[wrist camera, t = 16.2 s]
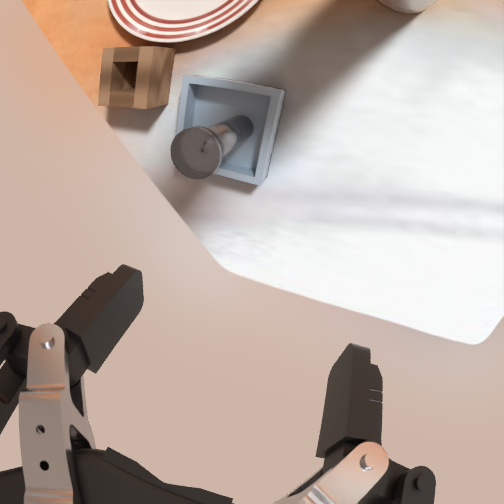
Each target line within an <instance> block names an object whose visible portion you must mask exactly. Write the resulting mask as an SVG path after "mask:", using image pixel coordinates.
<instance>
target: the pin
mask: <svg viewBox="0 0 504 504" xmlns="http://www.w3.org/2000/svg"><path fill="white" fill-rule="evenodd" d="M253 129H254V128H253V123H252V121H251V120H250V119H249V118H248V117H246V116H243V115H238V116H235V117H232V118H230V119H227V120H225V121H222V122H220V123H217V124H215V125H212V126H210V127H207V128H206V127H202V126H193V127H190V128H187V129H185V130H183V131H181V132H179V133H178V134H177V135H176V137H175V138H174V140H173V142H172V145H171V158H172V161H173V163H174V165H175V167H176V168H177V169H178V170H179V171H180V172H181V173H182V174H183V175H185V176H187V177H189V178H193V179H201V178H205V177H207V176H209V175H210V174H212V173H213V172H214V171H215V170H216V169H217V168H218V167H219V166H220V164H221V162H222V159H223V156H224V155H225V154H227V153H228V152H229V151H231V150H232V149H233V148H235V147H236V146H238V145H239V144H241V143H242V142H243V141H245V140H246V139H248V138H249V137H250V136H251V135H252V133H253Z"/></svg>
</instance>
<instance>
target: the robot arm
mask: <svg viewBox="0 0 504 504" xmlns="http://www.w3.org/2000/svg"><path fill="white" fill-rule="evenodd" d="M379 1H380V2H381V3H382V4H384V5H385V6H387V7H388V8H390V9H393V10H395V11H398V12H401V13H408V14H412V13H419V12H422V11H423V10H425V9H427V8H428V7H429V6H431V5H432V4H434V3H435V2H436V1H438V0H379ZM143 301H144V296H143V281H142V273H141V271H139V270H137V269H134V268H132V267H129V266H127V265H124V264H123V265H121V266H120V267H119V268H118V269H117V270H116V271H115V272H114V273H113V274H111V273H109V272H108V273H106V274H104V275H102V276H100V277H98V278H96V279H95V280H94V281H93V282H92V283H91V284H90V286H89V287H88V289H86V290H85V291H84V292H83V293H82V294H81V296H79V297H78V298H77V299H76V300H75V302H74V303H73V304H72V305H71V306H70V307H69V308H68V309H67V310H66V312H65V313H64V314H63V315H62V316H61V317H60V318H59V319H58V320H57V321H56V322H55V323H54V324H50V323H47V324H43V325H40V326H39V327H37V328H32V327H29V326H25V325H21V324H18V323H17V321H16V320H15V317H14V316H13V315H12V314H11V313H9V312H0V365H1V364H2V362H3V361H4V360H5V361H6V362H5V363H4V364H3V366H2V367H1V369H0V434H1V432H2V431H3V429H4V427H5V425H6V423H7V422H8V420H9V418H10V416H11V415H12V413H13V411H14V410H15V408H16V406H17V405H18V403H19V429H20V430H19V431H20V446H21V457H22V465H23V466H21V467H18V468H14V469H9V470H6V471H1V472H0V504H234V503H232V500H233V499H232V498H229V497H226V496H222V495H219V494H216V493H213V492H210V491H207V490H204V489H201V488H192V487H185V486H179V485H172V484H167V483H164V482H162V481H161V480H159V479H158V478H157V477H155V476H154V475H153V474H151V473H150V472H149V471H147V470H146V469H145V468H144V467H142V466H141V465H140V464H139V463H137V462H136V461H134V460H132V459H130V458H128V457H126V456H124V455H122V454H120V453H118V452H116V451H115V450H113V449H111V448H109V447H108V448H107V449H106V451H104V450H99V449H96V447H95V441H94V436H93V433H92V430H91V427H90V424H89V421H88V416H87V408H86V399H85V389H84V378H83V374H84V372H85V371H86V369H89V370H90V371H92V372H94V373H97V371H98V370H99V368H100V367H101V366H102V364H103V363H104V361H105V360H106V358H107V357H108V356H109V354H110V353H111V351H112V350H113V348H114V347H115V346H116V344H117V343H118V341H119V340H120V339H121V337H122V336H123V334H124V333H125V332H126V330H127V329H128V328H129V326H130V325H131V323H132V322H133V321H134V319H135V318H136V316H137V315H138V314H139V312H140V311H141V308H142V306H143ZM381 430H382V376H381V373H380V371H379V368H378V366H377V365H373V364H370V349H369V348H366V347H362V346H359V345H355V344H351V343H350V344H349V345H348V346H347V347H346V349H345V350H344V351H343V353H342V354H341V356H340V357H339V358H338V360H337V361H336V363H335V364H334V366H333V367H332V369H331V371H330V374H329V377H328V384H327V391H326V398H325V405H324V411H323V418H322V424H321V430H320V436H319V441H318V447H317V452H316V457H320V458H325V460H324V465H323V467H321V468H320V469H319V470H318V471H317V472H315V473H314V474H313V475H312V476H311V477H309V478H308V479H307V480H306V481H304V482H303V483H302V484H300V485H299V486H298V487H297V488H295V489H294V490H293V491H291V492H290V493H289V494H287V495H286V496H285V497H283V498H281V499H280V500H278V501H276V502H274V503H273V504H357V503H358V504H434V497H435V486H436V480H435V476H434V474H433V472H432V471H431V470H430V469H429V468H427V467H425V466H418V467H415V468H413V469H408V468H406V467H404V466H402V465H400V464H397V463H396V462H394V461H392V460H390V459H389V458H388V455H387V452H386V451H385V449H384V448H383V447H382V445H381V432H382V431H381Z"/></svg>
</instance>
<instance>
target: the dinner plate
mask: <svg viewBox="0 0 504 504" xmlns="http://www.w3.org/2000/svg"><path fill="white" fill-rule="evenodd" d="M258 1H259V0H108V3H109V7H110V10H111V12H112V14H113V16H114V17H115V19H116V20H117V22H118V23H119V24H120V25H121V26H122V27H123V28H124V29H125V30H126V31H128V32H129V33H131V34H133V35H134V36H137V37H139V38H142V39H144V40H149V41H154V42H161V43H172V42H182V41H188V40H192V39H196V38H199V37H203V36H205V35H208V34H211V33H213V32H216V31H218V30H220V29H222V28H224V27H225V26H227V25H229V24H230V23H232V22H234V21H235V20H237V19H238V18H239V17H241V16H242V15H243V14H245V13H246V12H247V11H248V10H249V9H250V8H252V7H253V6H254V5H255V4H256V3H257V2H258Z"/></svg>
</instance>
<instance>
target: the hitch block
mask: <svg viewBox="0 0 504 504" xmlns="http://www.w3.org/2000/svg"><path fill="white" fill-rule="evenodd" d="M175 50H176V48H167V47H157V46H139V47H117V48H104V49H103V55H102V64H101V74H100V87H99V102H98V106H114V107H126V108H137V109H150V108H154V107H158V106H163V105H167V104H168V100H169V92H170V84H171V77H172V70H173V63H174V56H175ZM137 61H138V67H137V75H136V84H135V88H134V80H135V71H136V63H137Z"/></svg>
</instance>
